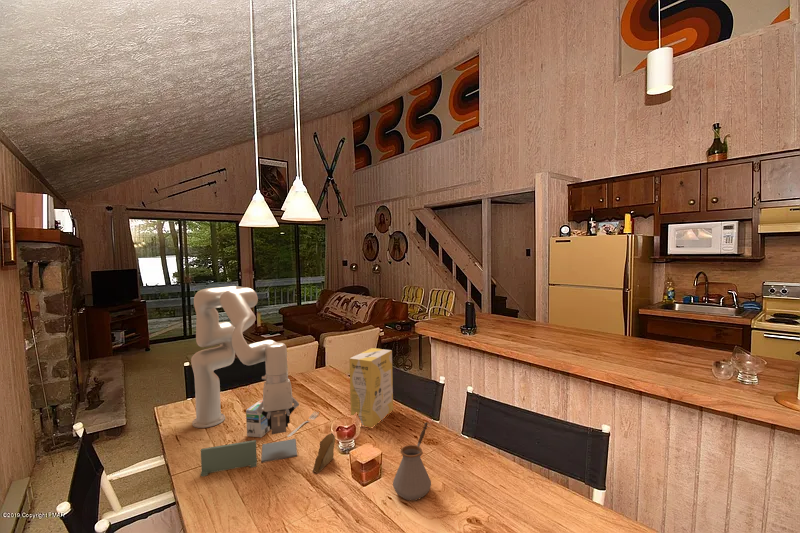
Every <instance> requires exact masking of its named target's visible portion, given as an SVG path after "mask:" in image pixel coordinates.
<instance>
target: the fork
mask: <svg viewBox="0 0 800 533" xmlns="http://www.w3.org/2000/svg"><path fill="white" fill-rule="evenodd" d="M319 413H320V412H319V411H313V413H312V414H311V415H310V416H309V417H308V418H309V420H313V421H314V420H315V419H316V418H317V416H318V415H319ZM309 420H306V421H303V422H302V423H300V425H299V426H297V427H296V428H295V429H294V430H293V431H291V432H290V433H289V434H288V435H287V438H289V437H292V436H293V435H294V434H295V433H297V431H299V429H300V428H301V427H302V426H303V425H304V424H306V423H311V421H309Z"/></svg>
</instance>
